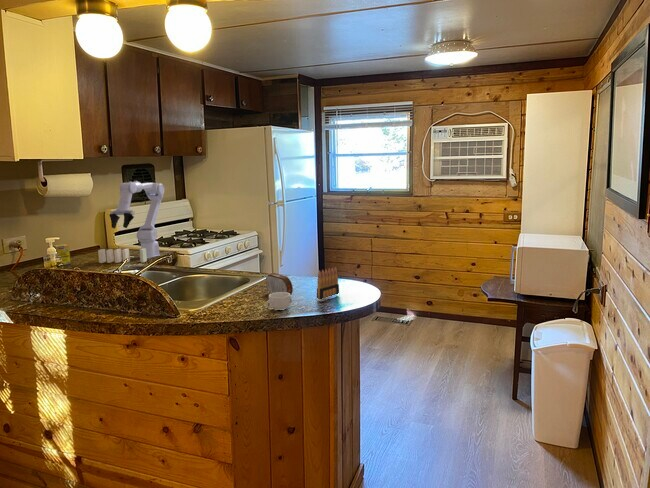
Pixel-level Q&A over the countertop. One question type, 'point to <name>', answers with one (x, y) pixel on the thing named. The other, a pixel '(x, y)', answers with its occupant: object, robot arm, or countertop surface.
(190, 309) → the countertop surface
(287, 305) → the teacup
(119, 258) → the domino
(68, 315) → the countertop surface
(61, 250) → the supplement box
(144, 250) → the domino
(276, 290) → the grey brown rounded slab
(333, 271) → the ammunition clip
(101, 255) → the domino
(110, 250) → the domino
